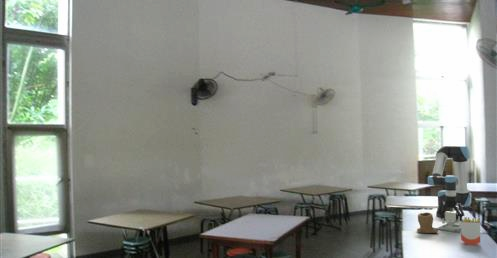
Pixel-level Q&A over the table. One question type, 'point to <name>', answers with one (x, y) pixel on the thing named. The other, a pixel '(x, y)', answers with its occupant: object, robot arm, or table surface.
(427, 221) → the stone cup
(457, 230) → the docking tray
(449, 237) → the table surface
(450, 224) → the pneumatic valve
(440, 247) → the table surface
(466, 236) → the french fries container
